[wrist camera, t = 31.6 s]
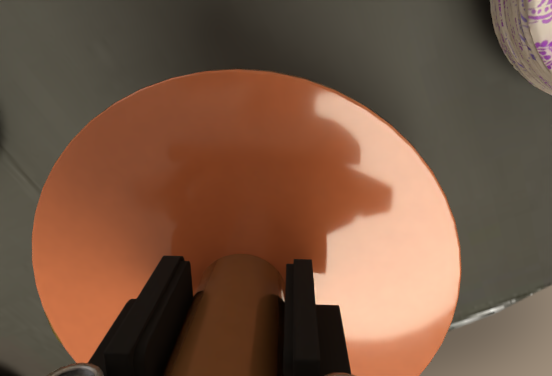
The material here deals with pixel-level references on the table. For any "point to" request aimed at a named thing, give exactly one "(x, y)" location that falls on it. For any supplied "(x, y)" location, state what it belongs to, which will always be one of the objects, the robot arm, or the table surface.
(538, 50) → the paper bowls
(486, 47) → the table surface
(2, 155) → the table surface
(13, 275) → the table surface
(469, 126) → the table surface
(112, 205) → the lid
